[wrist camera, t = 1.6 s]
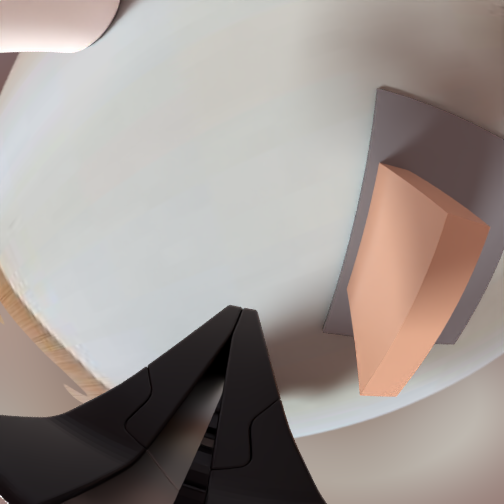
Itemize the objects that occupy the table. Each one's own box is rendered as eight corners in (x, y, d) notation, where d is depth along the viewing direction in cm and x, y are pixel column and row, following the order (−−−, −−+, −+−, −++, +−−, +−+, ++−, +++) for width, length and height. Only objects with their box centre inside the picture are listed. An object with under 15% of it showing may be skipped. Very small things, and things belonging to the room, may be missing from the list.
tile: (373, 292, 16) (397, 396, 9) (346, 288, 17) (359, 395, 10) (409, 170, 13) (491, 227, 6) (379, 162, 13) (447, 213, 6)
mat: (452, 341, 18) (454, 344, 17) (322, 328, 19) (322, 332, 19) (526, 154, 10) (529, 155, 10) (377, 89, 11) (378, 88, 11)
